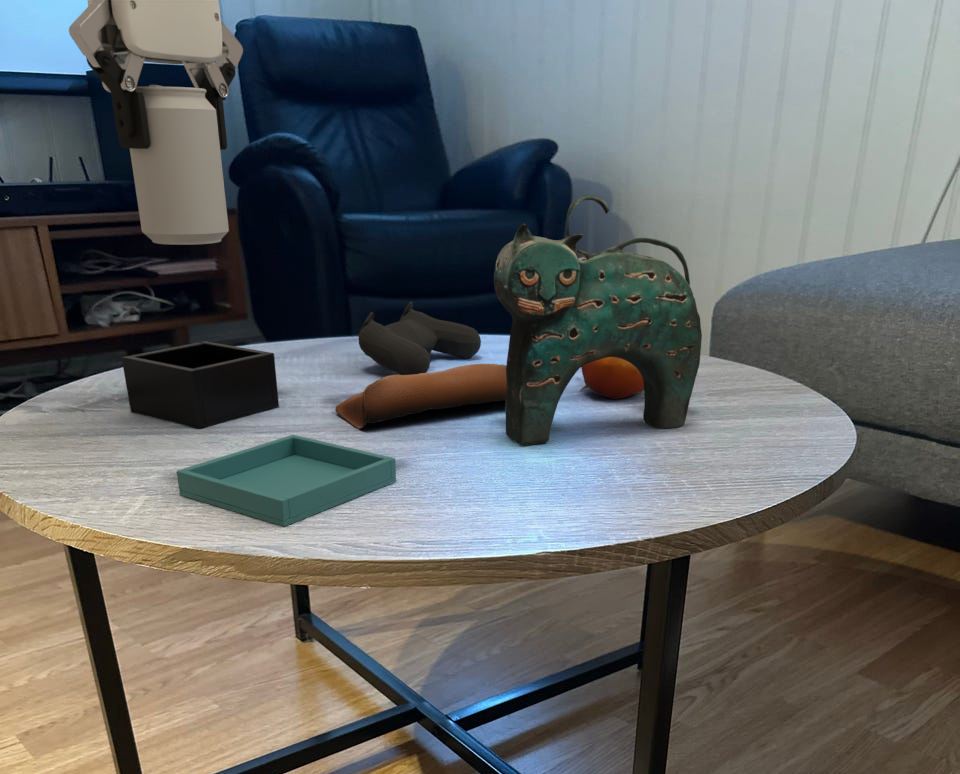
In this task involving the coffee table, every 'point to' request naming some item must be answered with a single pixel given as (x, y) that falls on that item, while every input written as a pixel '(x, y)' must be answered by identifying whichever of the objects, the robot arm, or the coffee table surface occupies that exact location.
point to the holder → (201, 383)
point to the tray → (286, 478)
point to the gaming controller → (415, 341)
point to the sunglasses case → (425, 393)
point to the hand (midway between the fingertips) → (175, 147)
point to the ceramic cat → (593, 325)
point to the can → (180, 169)
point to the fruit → (612, 378)
